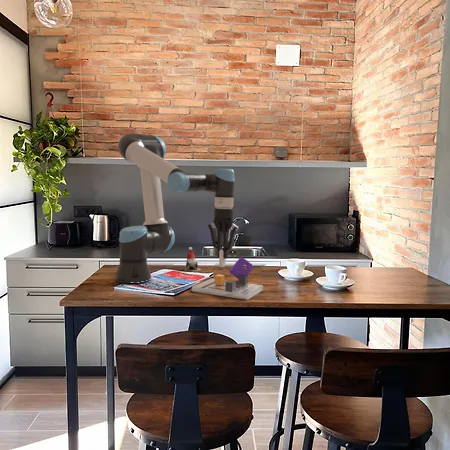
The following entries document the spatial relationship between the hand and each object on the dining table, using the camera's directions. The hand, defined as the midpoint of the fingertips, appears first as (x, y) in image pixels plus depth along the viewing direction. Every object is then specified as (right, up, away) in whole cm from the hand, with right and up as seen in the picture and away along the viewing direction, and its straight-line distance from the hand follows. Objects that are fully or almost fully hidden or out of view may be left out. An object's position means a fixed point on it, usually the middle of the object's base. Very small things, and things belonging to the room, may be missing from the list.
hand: (222, 266), depth 172 cm
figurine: (-15, -6, +39) cm, 42 cm away
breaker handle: (-1, -7, +1) cm, 7 cm away
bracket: (+6, -5, +11) cm, 13 cm away
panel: (+2, -10, 0) cm, 10 cm away
